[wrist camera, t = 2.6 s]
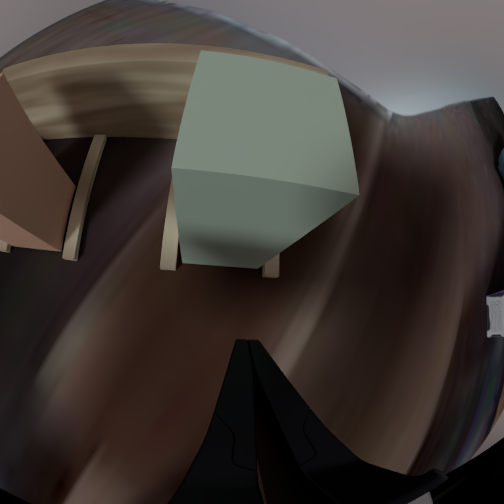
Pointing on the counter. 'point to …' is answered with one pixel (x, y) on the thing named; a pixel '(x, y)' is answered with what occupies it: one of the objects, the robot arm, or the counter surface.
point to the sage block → (258, 159)
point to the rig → (115, 111)
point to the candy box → (495, 314)
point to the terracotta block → (29, 181)
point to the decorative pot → (501, 163)
